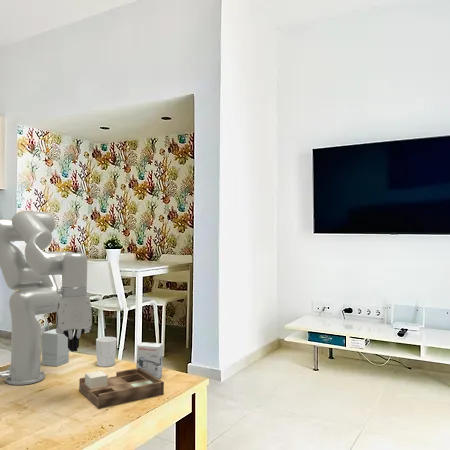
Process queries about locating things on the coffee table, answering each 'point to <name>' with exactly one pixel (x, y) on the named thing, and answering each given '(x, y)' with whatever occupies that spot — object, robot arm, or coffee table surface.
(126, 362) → the coffee table surface
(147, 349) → the ink box
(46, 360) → the supplement box
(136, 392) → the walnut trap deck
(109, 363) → the light grey cylinder
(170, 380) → the coffee table surface
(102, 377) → the ivory block
